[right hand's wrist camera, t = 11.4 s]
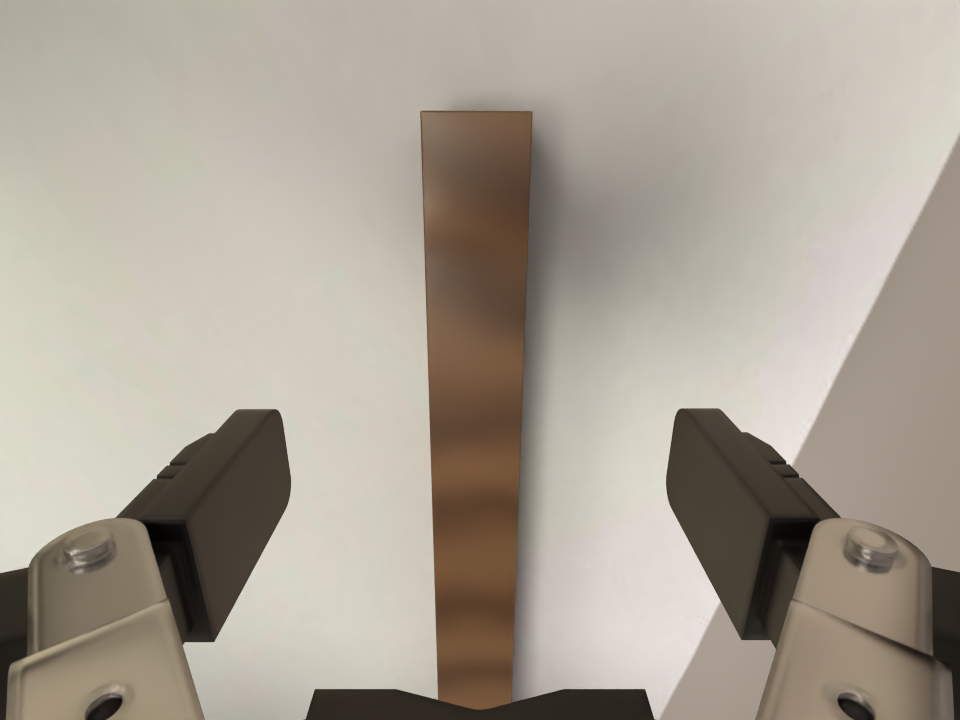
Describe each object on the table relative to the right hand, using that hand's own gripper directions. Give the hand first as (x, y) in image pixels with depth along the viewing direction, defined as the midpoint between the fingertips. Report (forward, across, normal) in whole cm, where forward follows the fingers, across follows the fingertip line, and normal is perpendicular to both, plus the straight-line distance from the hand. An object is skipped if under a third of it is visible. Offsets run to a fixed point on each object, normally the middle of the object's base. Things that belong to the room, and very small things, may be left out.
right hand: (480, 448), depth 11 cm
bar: (+21, 0, -18) cm, 28 cm away
